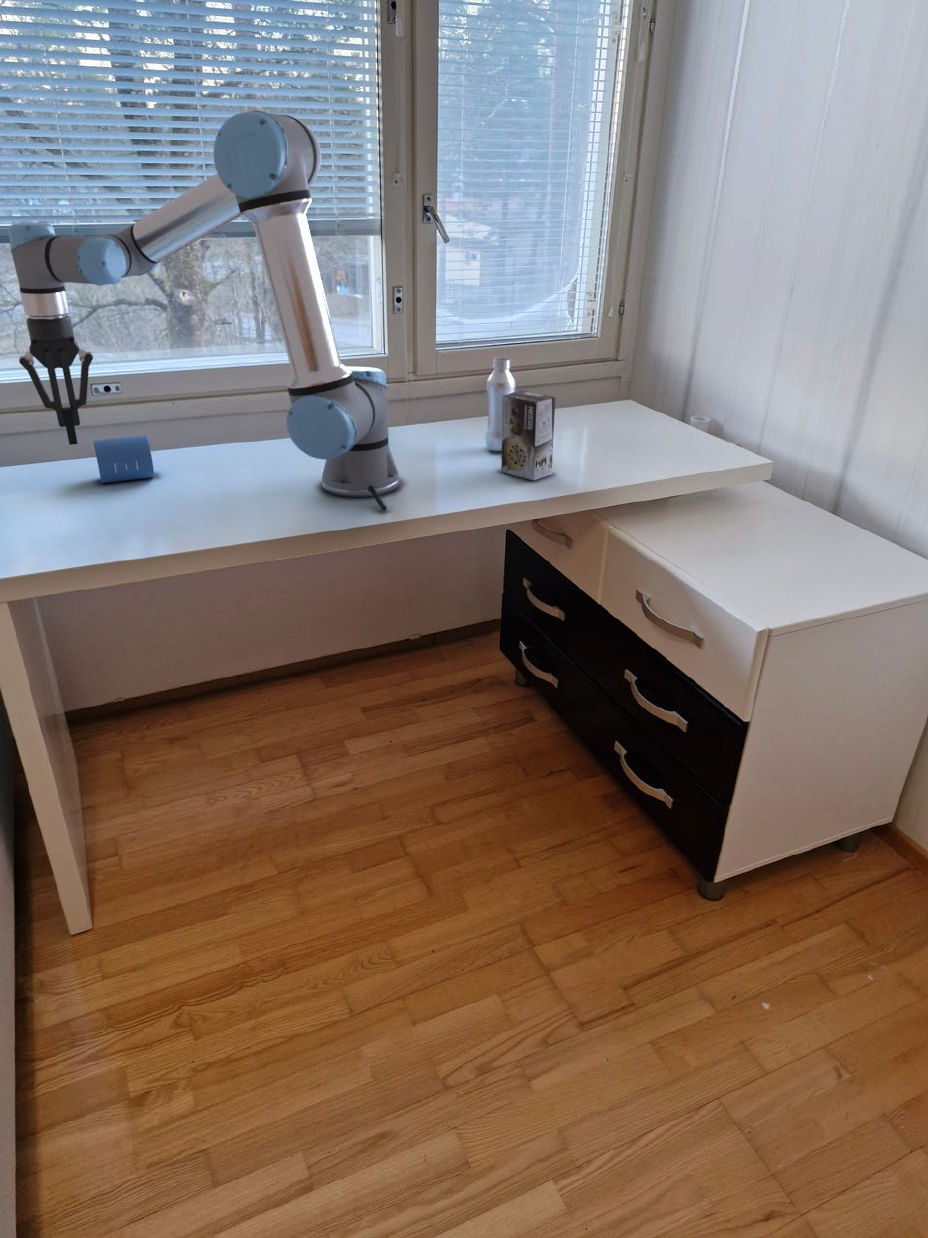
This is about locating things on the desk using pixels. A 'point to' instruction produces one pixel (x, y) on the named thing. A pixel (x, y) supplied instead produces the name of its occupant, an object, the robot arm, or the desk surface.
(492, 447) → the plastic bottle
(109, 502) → the desk surface
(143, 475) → the measuring cup
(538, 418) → the coffee box
